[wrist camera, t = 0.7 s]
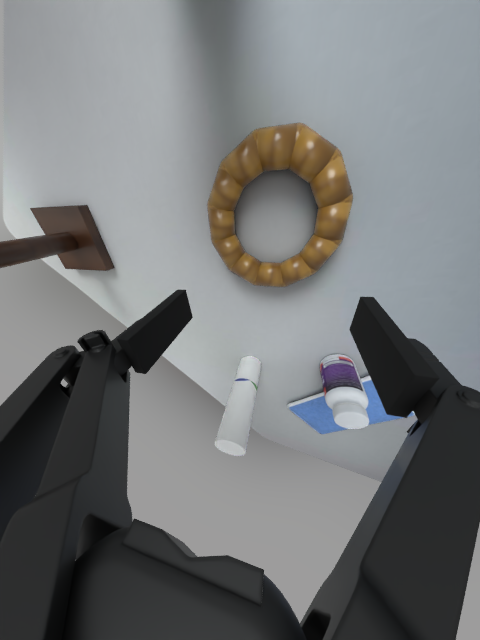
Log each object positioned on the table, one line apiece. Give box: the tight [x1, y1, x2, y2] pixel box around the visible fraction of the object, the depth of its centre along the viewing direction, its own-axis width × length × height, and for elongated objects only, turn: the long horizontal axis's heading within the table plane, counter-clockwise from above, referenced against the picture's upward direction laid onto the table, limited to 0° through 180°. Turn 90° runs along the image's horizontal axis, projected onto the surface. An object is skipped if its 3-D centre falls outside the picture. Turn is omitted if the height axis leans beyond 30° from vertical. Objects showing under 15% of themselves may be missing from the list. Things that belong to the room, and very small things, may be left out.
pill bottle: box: [320, 354, 369, 429], centre depth 27 cm, size 5×5×10 cm
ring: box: [207, 123, 353, 287], centre depth 20 cm, size 15×15×3 cm
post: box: [0, 205, 114, 271], centre depth 24 cm, size 9×9×14 cm
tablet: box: [287, 375, 415, 434], centre depth 36 cm, size 19×13×1 cm, turn 138°
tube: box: [215, 356, 261, 456], centre depth 30 cm, size 4×4×15 cm
